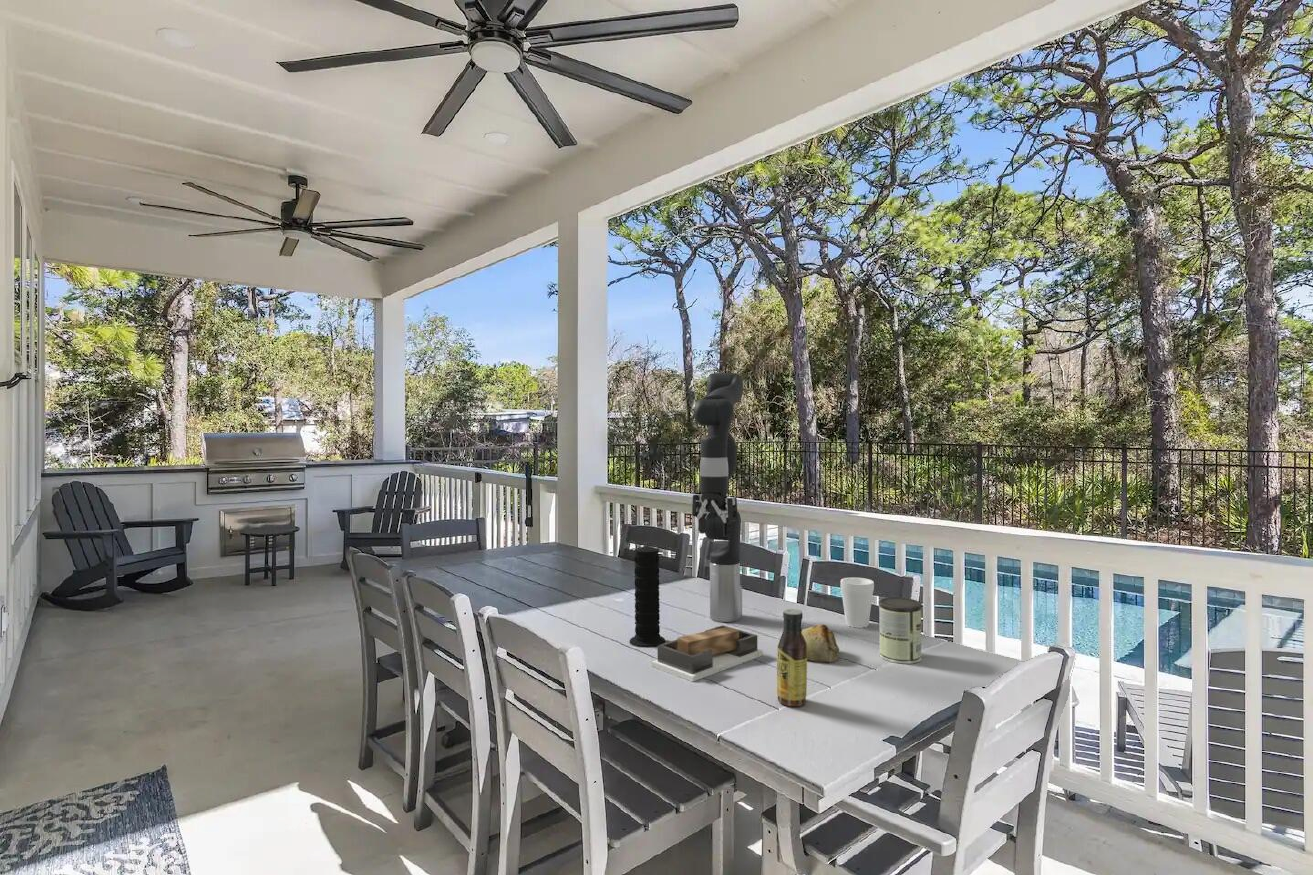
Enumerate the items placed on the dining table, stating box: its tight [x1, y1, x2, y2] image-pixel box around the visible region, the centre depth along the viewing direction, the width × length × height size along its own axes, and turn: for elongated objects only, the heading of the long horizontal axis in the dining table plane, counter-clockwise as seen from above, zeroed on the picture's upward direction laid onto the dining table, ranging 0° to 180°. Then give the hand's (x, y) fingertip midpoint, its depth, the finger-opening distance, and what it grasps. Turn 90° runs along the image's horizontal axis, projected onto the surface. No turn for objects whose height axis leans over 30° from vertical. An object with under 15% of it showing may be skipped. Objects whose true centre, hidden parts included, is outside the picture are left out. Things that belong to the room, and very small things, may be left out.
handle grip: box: [629, 545, 667, 648], centre depth 188 cm, size 10×26×10 cm
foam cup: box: [840, 577, 875, 629], centre depth 202 cm, size 10×9×13 cm
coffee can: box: [878, 596, 923, 665], centre depth 175 cm, size 10×10×14 cm
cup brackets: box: [657, 624, 758, 674], centre depth 173 cm, size 24×12×4 cm, turn 133°
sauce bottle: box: [776, 608, 808, 708], centre depth 147 cm, size 7×6×20 cm
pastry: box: [801, 624, 840, 664], centre depth 177 cm, size 14×12×8 cm
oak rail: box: [677, 626, 739, 655], centre depth 173 cm, size 16×4×4 cm, turn 123°
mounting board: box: [651, 648, 764, 682], centre depth 173 cm, size 26×14×1 cm, turn 133°
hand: (714, 534), depth 183 cm, fingers open, 8 cm apart
